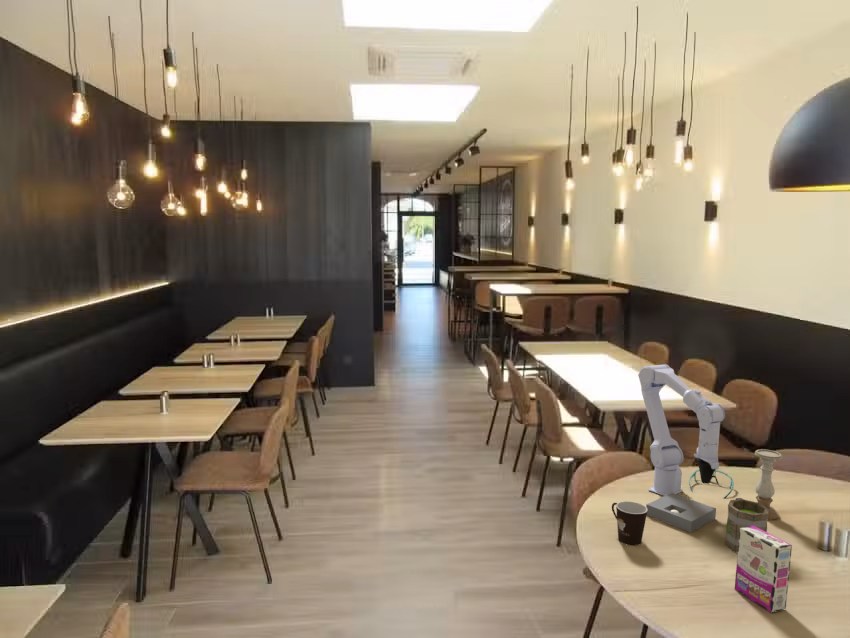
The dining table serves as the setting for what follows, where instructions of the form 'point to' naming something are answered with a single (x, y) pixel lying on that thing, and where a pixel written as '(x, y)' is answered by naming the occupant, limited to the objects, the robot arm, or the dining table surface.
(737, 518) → the mug
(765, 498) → the candle holder
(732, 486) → the teal safety glasses
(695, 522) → the deck
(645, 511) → the coffee mug
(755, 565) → the candy bar box
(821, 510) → the dining table surface
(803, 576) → the dining table surface
